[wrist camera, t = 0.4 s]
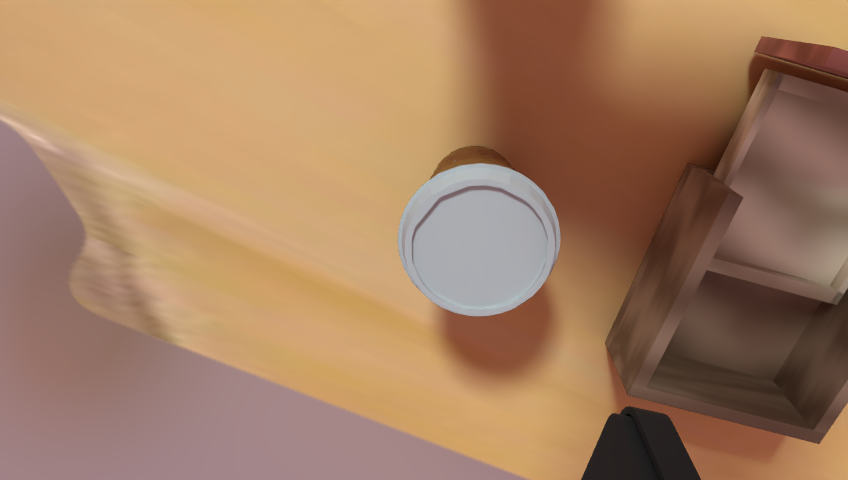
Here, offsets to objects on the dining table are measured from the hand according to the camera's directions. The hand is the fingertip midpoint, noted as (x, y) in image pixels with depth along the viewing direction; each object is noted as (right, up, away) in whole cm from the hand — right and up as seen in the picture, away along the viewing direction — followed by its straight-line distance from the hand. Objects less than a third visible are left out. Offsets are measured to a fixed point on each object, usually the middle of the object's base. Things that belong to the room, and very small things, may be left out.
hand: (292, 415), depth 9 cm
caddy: (+26, -1, +38) cm, 46 cm away
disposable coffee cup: (+6, +7, +36) cm, 37 cm away
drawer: (+29, +7, +33) cm, 45 cm away
